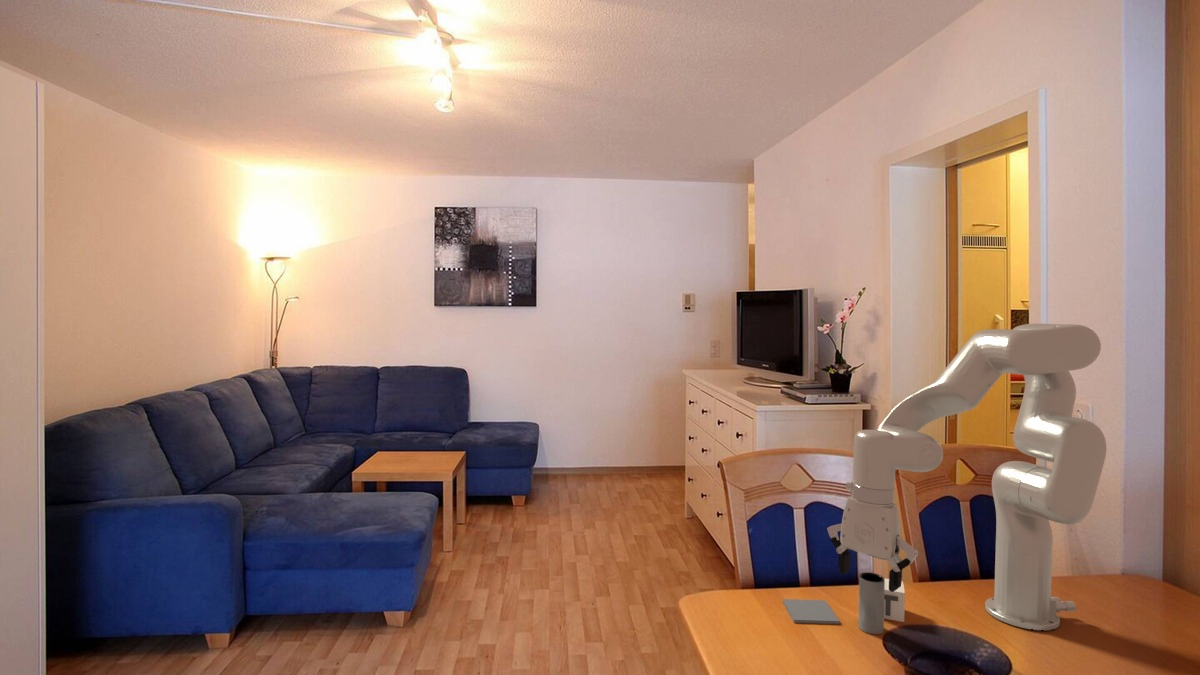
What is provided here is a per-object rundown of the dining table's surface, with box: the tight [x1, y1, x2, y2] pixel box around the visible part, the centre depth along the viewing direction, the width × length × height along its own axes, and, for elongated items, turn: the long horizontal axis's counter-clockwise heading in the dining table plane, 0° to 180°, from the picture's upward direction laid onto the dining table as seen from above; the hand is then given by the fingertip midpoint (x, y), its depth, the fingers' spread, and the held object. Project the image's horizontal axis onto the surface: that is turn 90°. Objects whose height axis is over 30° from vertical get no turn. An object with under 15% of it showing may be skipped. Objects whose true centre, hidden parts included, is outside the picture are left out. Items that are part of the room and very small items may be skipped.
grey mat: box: [782, 598, 841, 625], centre depth 127 cm, size 9×9×1 cm
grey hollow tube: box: [857, 572, 886, 635], centre depth 120 cm, size 4×4×10 cm
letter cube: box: [883, 577, 906, 623], centre depth 127 cm, size 6×6×6 cm
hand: (868, 580), depth 120 cm, fingers open, 9 cm apart
